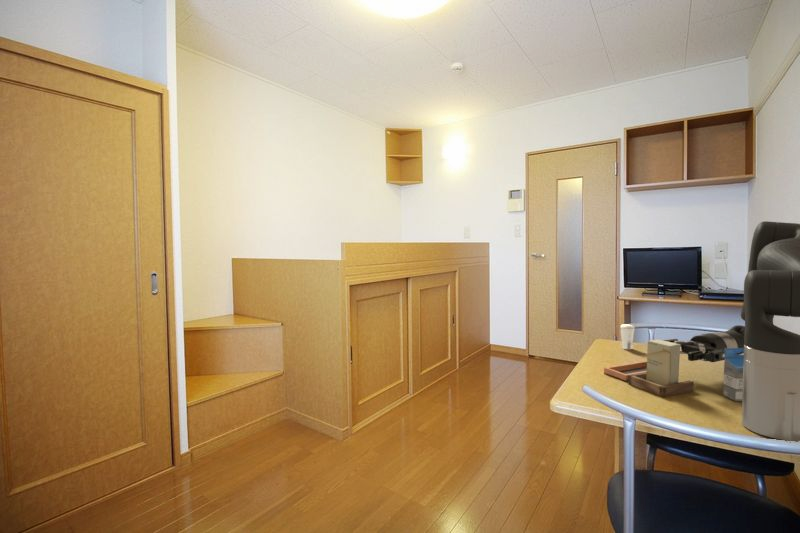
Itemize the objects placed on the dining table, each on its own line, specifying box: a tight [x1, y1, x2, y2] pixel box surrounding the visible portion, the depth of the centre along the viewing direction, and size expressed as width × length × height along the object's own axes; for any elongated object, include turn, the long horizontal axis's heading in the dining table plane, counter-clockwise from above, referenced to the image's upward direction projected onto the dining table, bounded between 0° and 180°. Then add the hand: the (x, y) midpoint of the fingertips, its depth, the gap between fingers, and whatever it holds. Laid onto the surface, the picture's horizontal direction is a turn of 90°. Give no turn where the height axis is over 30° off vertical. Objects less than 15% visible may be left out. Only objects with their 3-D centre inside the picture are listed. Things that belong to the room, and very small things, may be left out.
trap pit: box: [603, 360, 647, 383], centre depth 113 cm, size 8×18×2 cm, turn 109°
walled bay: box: [627, 372, 695, 398], centre depth 102 cm, size 10×11×2 cm
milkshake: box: [619, 322, 638, 351], centre depth 139 cm, size 4×5×10 cm
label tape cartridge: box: [722, 348, 744, 402], centre depth 93 cm, size 9×4×12 cm, turn 88°
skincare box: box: [646, 338, 681, 386], centre depth 102 cm, size 6×4×12 cm
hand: (673, 352), depth 103 cm, fingers open, 8 cm apart
